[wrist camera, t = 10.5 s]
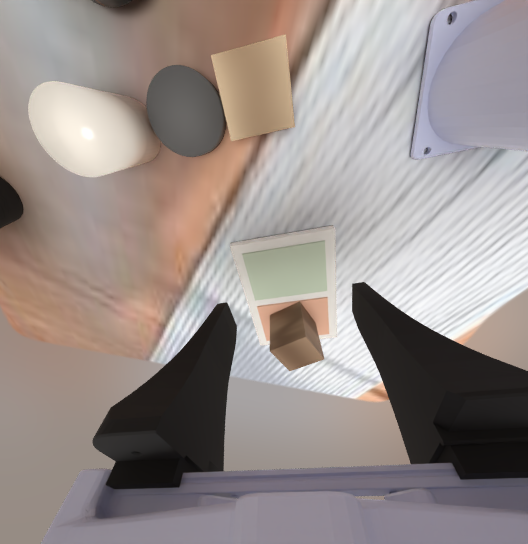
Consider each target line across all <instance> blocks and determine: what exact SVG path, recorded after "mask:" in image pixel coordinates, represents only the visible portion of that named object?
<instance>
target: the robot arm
mask: <svg viewBox="0 0 528 544" xmlns="http://www.w3.org/2000/svg"><path fill="white" fill-rule="evenodd" d="M449 14H451V15H452V22H451V24H448V23H447V18H448V16H449ZM427 147H428V151H427V152H426V153H425V154H424V149H425V148H427ZM479 147H490V148H501V149H511V150H522V151H528V0H473V1H470V2H466V3H462V4H459V5H455V6H451V7H448V8H444V9H442V10H441V11H439V12H438V13H437V14H436V15H435V16H434V17H433V19H432V21H431V24H430V30H429V37H428V43H427V50H426V56H425V63H424V70H423V76H422V83H421V89H420V96H419V103H418V109H417V116H416V123H415V129H414V136H413V142H412V149H411V157H412V158H413V159H423V158H428V157H433V156H438V155H443V154H448V153H453V152H458V151H463V150H469V149H474V148H479ZM352 312H353V315H354V318H355V321H356V323H357V326H358V329H359V331H360V333H361V335H362V337H363V339H364V341H365V343H366V345H367V347H368V349H369V351H370V353H371V355H372V357H373V359H374V361H375V363H376V366H377V368H378V370H379V373H380V375H381V378H382V381H383V383H384V386H385V389H386V391H387V394H388V397H389V400H390V402H391V405H392V408H393V411H394V413H395V417H396V420H397V422H398V426H399V429H400V431H401V435H402V438H403V441H404V444H405V447H406V450H407V453H408V456H409V459H410V463H411V464H406V465H381V466H353V467H327V468H300V469H276V470H275V469H274V470H248V471H223V466H224V434H225V415H226V402H227V390H228V382H229V376H230V371H231V366H232V360H233V355H234V350H235V344H236V333H237V325H236V323H235V321H234V318H233V316H232V313H231V311H230V308H229V306H228V303H220V304H217V305H216V307H215V308H214V309H213V311H212V312H211V313H210V315H209V316H208V317H207V319H206V320H205V321H204V323H203V324H202V325H201V327H200V328H199V329H198V331H197V332H196V333H195V334H194V336H193V337H192V338H191V339H190V340H189V342H188V343H187V344H186V345H185V346H184V347H183V348H182V349H181V351H180V352H179V353H178V354H177V355H176V356H175V357H174V358H173V359H172V360H171V361H170V362H169V363H167V364H166V365H165V366H164V367H163V368H162V369H161V370H160V371H159V372H158V373H156V374H155V375H154V376H153V377H152V378H150V379H149V380H148V381H147V382H146V383H144V384H143V385H142V386H140V387H139V388H138V389H137V390H135V391H134V392H133V393H132V394H130V395H128V396H127V397H126V398H124V399H123V400H121V401H120V402H118V403H117V404H116V405H114V406H113V407H111V408H110V410H109V412H108V414H107V415H106V417H105V419H104V421H103V423H102V424H101V426H100V428H99V429H98V431H97V433H96V435H95V436H94V438H93V445H94V447H95V448H96V449H97V450H99V451H100V452H102V453H103V454H105V455H106V456H108V457H110V458H111V459H113V460H115V461H116V463H115V465H114V467H113V469H112V470H110V469H84V470H81V471H80V473H79V475H78V476H77V478H76V480H75V482H74V484H73V486H72V487H71V489H70V491H69V493H68V495H67V497H66V498H65V500H64V502H63V504H62V505H61V507H60V509H59V511H58V513H57V515H56V517H55V518H54V520H53V522H52V524H51V525H50V527H49V529H48V531H47V533H46V534H45V536H44V538H43V540H42V542H41V544H528V371H526V370H523V369H520V368H518V367H515V366H513V365H510V364H507V363H505V362H502V361H499V360H497V359H494V358H491V357H489V356H486V355H484V354H482V353H479V352H477V351H474V350H472V349H470V348H468V347H465V346H463V345H461V344H459V343H457V342H455V341H453V340H451V339H449V338H447V337H445V336H443V335H441V334H439V333H437V332H435V331H433V330H431V329H430V328H428V327H426V326H424V325H423V324H421V323H419V322H418V321H416V320H414V319H413V318H411V317H410V316H408V315H407V314H405V313H404V312H402V311H401V310H399V309H398V308H396V307H395V306H394V305H392V304H391V303H390V302H388V301H387V300H386V299H384V298H383V297H382V296H381V295H379V294H378V293H377V292H376V291H374V290H373V289H372V288H371V287H370V286H368V285H367V284H366V283H365V282H361V283H355V284H352ZM355 496H385V497H384V499H385V500H375V499H362V498H355ZM237 499H238V500H237Z"/></svg>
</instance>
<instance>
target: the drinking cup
mask: <svg viewBox="0 0 528 544" xmlns="http://www.w3.org/2000/svg"><path fill="white" fill-rule="evenodd" d="M22 212H23V207H22V203H21V200H20V198H19V196H18V195H17V193H16V192H15V191H14V189H13V188H12V187H11V186H10V185H9V184H8V183H7V182H6V181H5V180H3V179H2V178H1V177H0V228H1V227H3V226H5V225H7V224H9V223H11V222H13V221H16V220H17V219H19V218H20V217H21V215H22Z"/></svg>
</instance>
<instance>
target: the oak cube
mask: <svg viewBox="0 0 528 544" xmlns="http://www.w3.org/2000/svg"><path fill="white" fill-rule="evenodd" d="M211 58H212V62H213V67H214V71H215V75H216V79H217V83H218V88H219V92H220V96H221V100H222V104H223V109H224V113H225V117H226V121H227V125H228V130H229V134H230V138H231V141H235V140H240V139H244V138H248V137H253V136H257V135H262V134H266V133H270V132H275V131H279V130H283V129H288V128H292V127H295V124H294V114H293V103H292V93H291V83H290V73H289V63H288V52H287V42H286V34H285V35H282V36H278V37H275V38H271V39H267V40H264V41H260V42H257V43H253V44H250V45H246V46H243V47H239V48H236V49H232V50H228V51H225V52H221V53H218V54H214V55H211Z"/></svg>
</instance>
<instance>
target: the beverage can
mask: <svg viewBox="0 0 528 544" xmlns="http://www.w3.org/2000/svg"><path fill="white" fill-rule="evenodd" d="M92 1H93V2H95V3H97V4H100V5H102V6H106V7H120V6H123V5H125V4H128V3H129V2H130V1H132V0H92Z"/></svg>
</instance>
